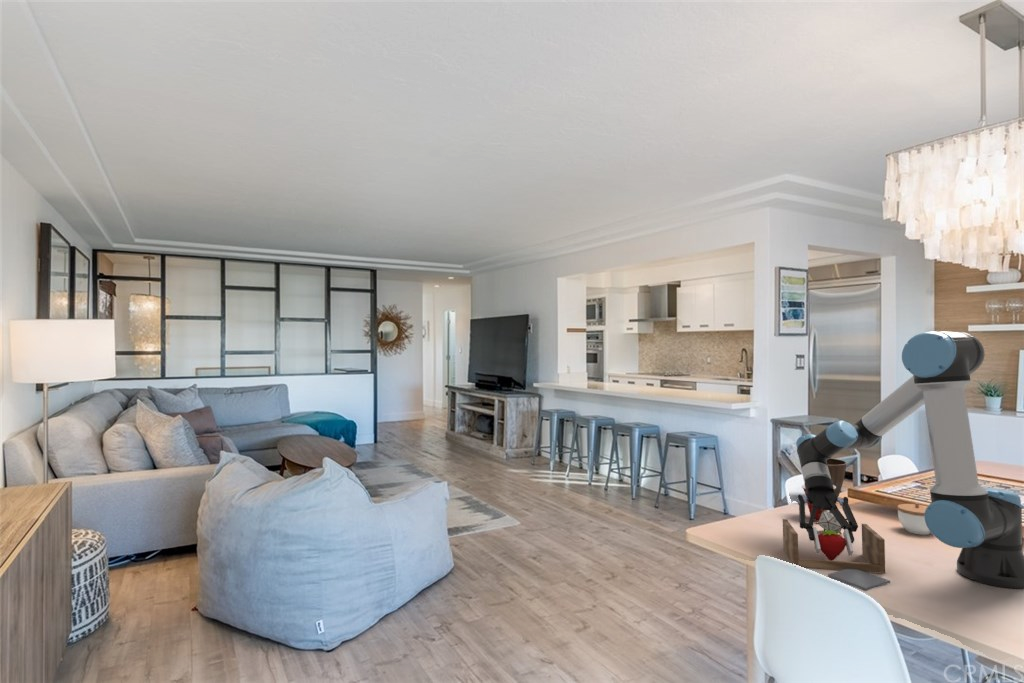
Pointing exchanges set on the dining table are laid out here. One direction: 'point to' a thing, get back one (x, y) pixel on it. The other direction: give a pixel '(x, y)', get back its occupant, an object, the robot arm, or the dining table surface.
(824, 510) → the plastic cup
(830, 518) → the game die
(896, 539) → the dining table surface
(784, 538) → the wooden crossbar stand
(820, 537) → the strawberry
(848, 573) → the pad
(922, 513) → the lidded jar
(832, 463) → the plant pot
